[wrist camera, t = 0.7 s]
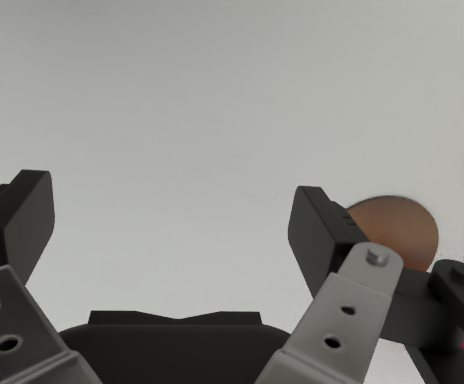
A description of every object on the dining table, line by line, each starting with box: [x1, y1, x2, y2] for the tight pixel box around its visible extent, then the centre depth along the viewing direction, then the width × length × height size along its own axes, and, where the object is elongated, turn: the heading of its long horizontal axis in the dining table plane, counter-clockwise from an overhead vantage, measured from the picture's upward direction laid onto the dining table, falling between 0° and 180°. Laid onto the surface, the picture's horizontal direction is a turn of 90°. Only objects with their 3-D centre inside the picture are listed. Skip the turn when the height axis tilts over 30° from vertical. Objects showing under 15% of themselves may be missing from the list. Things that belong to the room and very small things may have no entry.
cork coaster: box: [347, 196, 439, 272], centre depth 38 cm, size 12×12×1 cm
